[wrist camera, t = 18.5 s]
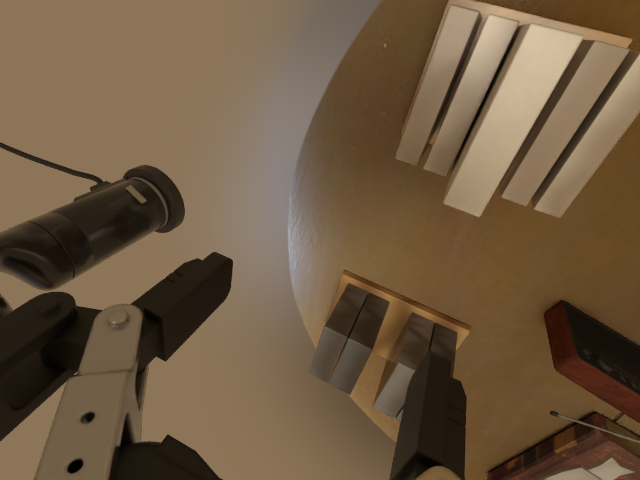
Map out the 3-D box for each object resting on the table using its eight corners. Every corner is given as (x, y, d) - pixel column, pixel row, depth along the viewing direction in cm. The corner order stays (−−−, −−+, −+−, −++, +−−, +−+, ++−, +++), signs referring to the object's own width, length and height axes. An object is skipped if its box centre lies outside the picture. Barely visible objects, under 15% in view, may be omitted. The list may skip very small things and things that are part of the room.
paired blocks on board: (326, 324, 55) (299, 372, 47) (345, 270, 48) (316, 316, 40) (433, 377, 51) (423, 439, 43) (470, 326, 44) (466, 389, 37)
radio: (707, 382, 36) (812, 552, 24) (677, 394, 38) (763, 557, 26) (548, 287, 38) (575, 402, 26) (528, 303, 40) (544, 417, 28)
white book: (458, 143, 33) (442, 203, 22) (512, 26, 28) (530, 22, 16) (482, 152, 33) (479, 218, 21) (543, 34, 27) (585, 35, 15)
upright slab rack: (402, 131, 36) (373, 164, 27) (451, -6, 29) (434, -23, 20) (538, 178, 33) (557, 232, 24) (629, 38, 26) (704, 41, 17)
